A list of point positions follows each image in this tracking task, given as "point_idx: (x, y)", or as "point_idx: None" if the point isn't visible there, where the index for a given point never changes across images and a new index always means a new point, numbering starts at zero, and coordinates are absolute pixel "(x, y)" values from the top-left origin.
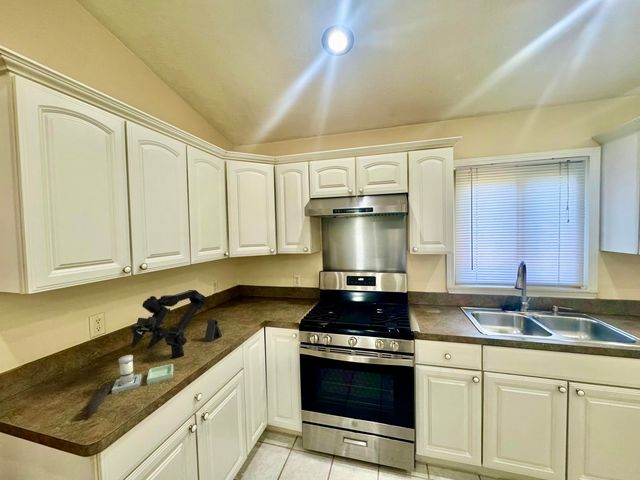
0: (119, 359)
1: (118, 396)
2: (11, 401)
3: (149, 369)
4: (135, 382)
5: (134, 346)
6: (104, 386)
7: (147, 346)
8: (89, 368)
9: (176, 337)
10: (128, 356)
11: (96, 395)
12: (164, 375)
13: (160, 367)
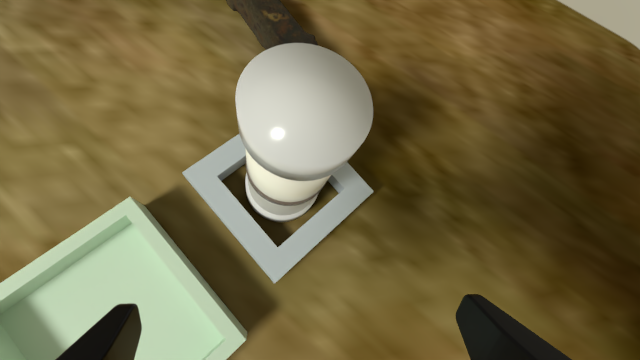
0: (331, 55)
1: (227, 92)
2: (608, 39)
3: (238, 331)
4: (216, 181)
5: (466, 343)
6: None
7: (112, 327)
8: None
9: None
10: (298, 124)
11: (284, 12)
12: (11, 276)
13: None
